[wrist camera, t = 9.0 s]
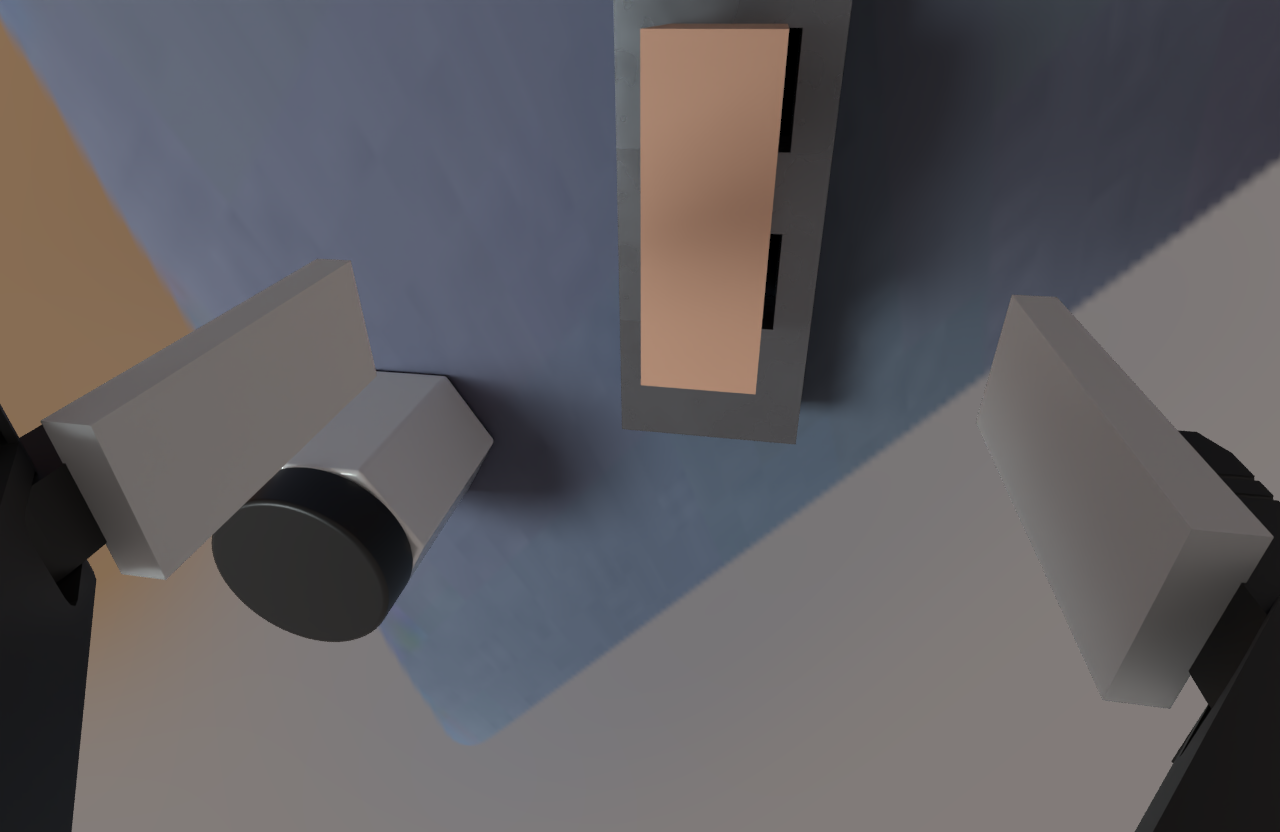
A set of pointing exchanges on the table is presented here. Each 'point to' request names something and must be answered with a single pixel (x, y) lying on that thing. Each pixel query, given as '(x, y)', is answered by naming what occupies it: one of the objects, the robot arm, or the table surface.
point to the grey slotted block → (797, 216)
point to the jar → (354, 509)
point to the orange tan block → (707, 199)
